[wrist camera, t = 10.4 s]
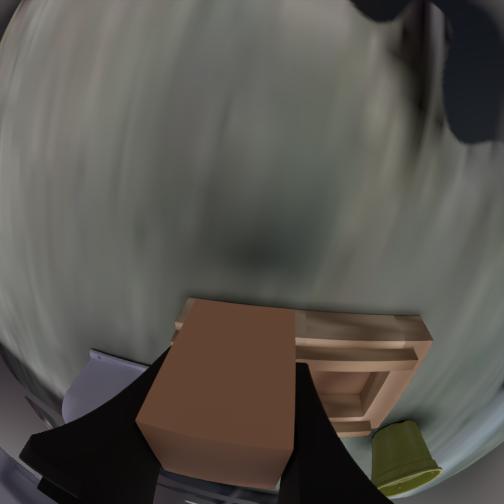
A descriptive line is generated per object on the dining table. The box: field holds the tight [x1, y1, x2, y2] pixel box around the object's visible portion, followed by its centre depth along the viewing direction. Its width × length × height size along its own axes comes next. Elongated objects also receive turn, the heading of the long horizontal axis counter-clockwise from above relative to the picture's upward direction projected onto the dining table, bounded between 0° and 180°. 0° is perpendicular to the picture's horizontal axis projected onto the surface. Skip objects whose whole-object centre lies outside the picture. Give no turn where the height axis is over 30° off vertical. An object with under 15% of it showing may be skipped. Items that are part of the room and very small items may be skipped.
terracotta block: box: [135, 299, 296, 489], centre depth 9 cm, size 4×4×6 cm
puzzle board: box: [170, 297, 434, 437], centre depth 20 cm, size 18×12×4 cm, turn 87°
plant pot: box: [371, 420, 443, 497], centre depth 22 cm, size 9×9×9 cm
